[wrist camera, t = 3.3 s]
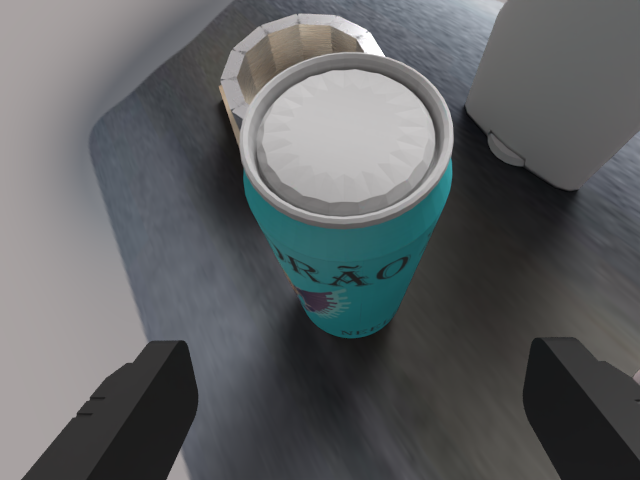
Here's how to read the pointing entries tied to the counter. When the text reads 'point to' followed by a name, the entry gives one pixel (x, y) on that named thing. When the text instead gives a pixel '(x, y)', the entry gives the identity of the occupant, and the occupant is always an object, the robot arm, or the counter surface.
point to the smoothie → (637, 377)
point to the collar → (286, 53)
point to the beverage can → (348, 182)
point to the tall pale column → (559, 86)
